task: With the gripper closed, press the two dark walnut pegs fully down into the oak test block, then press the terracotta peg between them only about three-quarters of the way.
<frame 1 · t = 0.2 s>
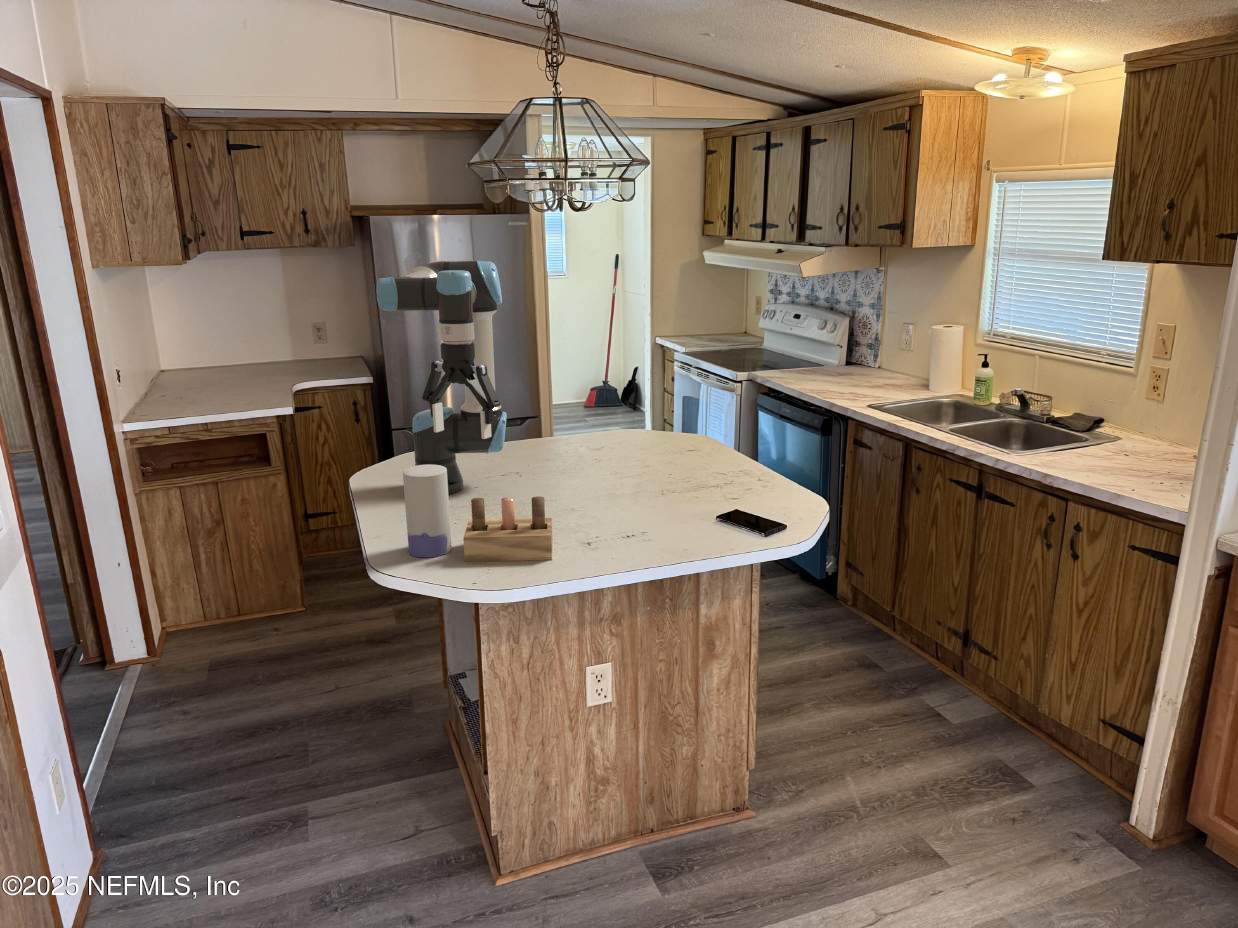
hand: (462, 434, 197), 28 cm above the countertop, fingers open, 13 cm apart
walnut peg 2: (538, 514, 203), point 9 cm above the countertop, slide at 0.0 cm
container: (430, 550, 205), on the countertop
terracotta peg: (508, 515, 202), point 9 cm above the countertop, slide at 0.0 cm
oak block: (509, 550, 205), on the countertop
walnut peg 1: (478, 515, 202), point 9 cm above the countertop, slide at 0.0 cm
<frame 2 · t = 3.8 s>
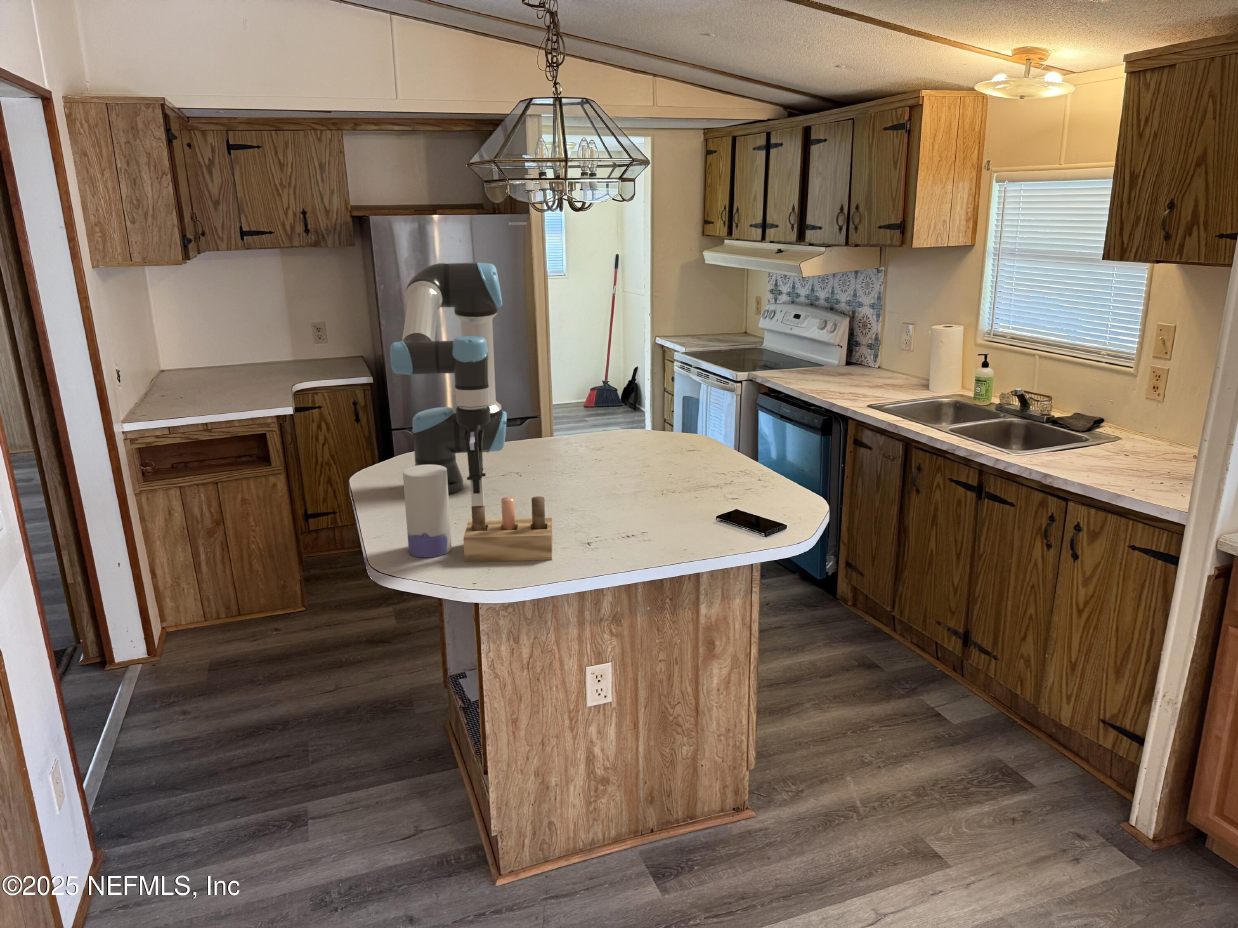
hand: (477, 505, 201), 12 cm above the countertop, fingers closed
walnut peg 1: (478, 522, 202), point 7 cm above the countertop, slide at 1.5 cm, touching gripper
everything else where it was.
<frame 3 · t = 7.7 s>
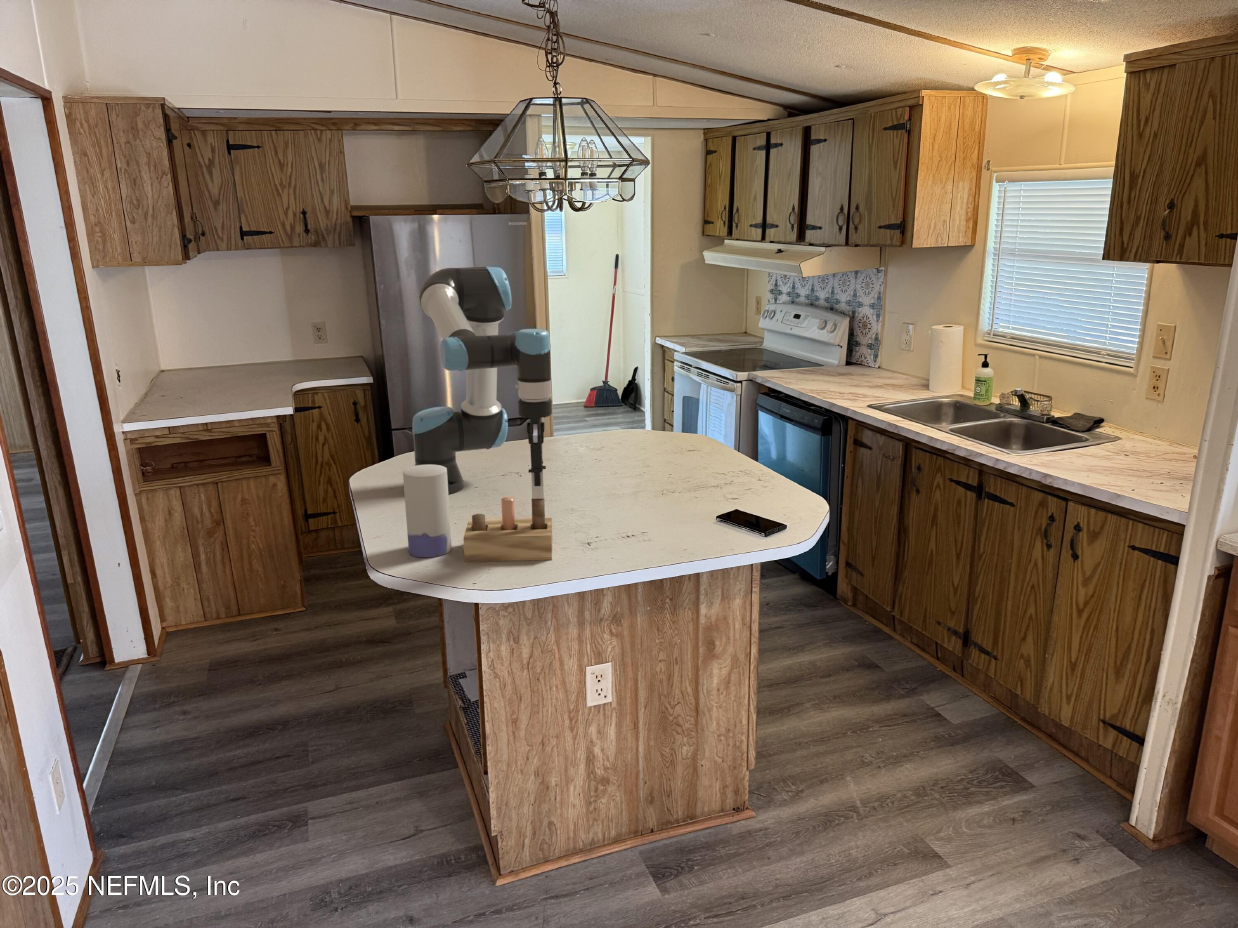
hand: (538, 497, 201), 13 cm above the countertop, fingers closed
walnut peg 2: (538, 514, 203), point 9 cm above the countertop, slide at 0.0 cm, touching gripper
walnut peg 1: (479, 531, 203), point 5 cm above the countertop, slide at 4.0 cm
everything else where it was.
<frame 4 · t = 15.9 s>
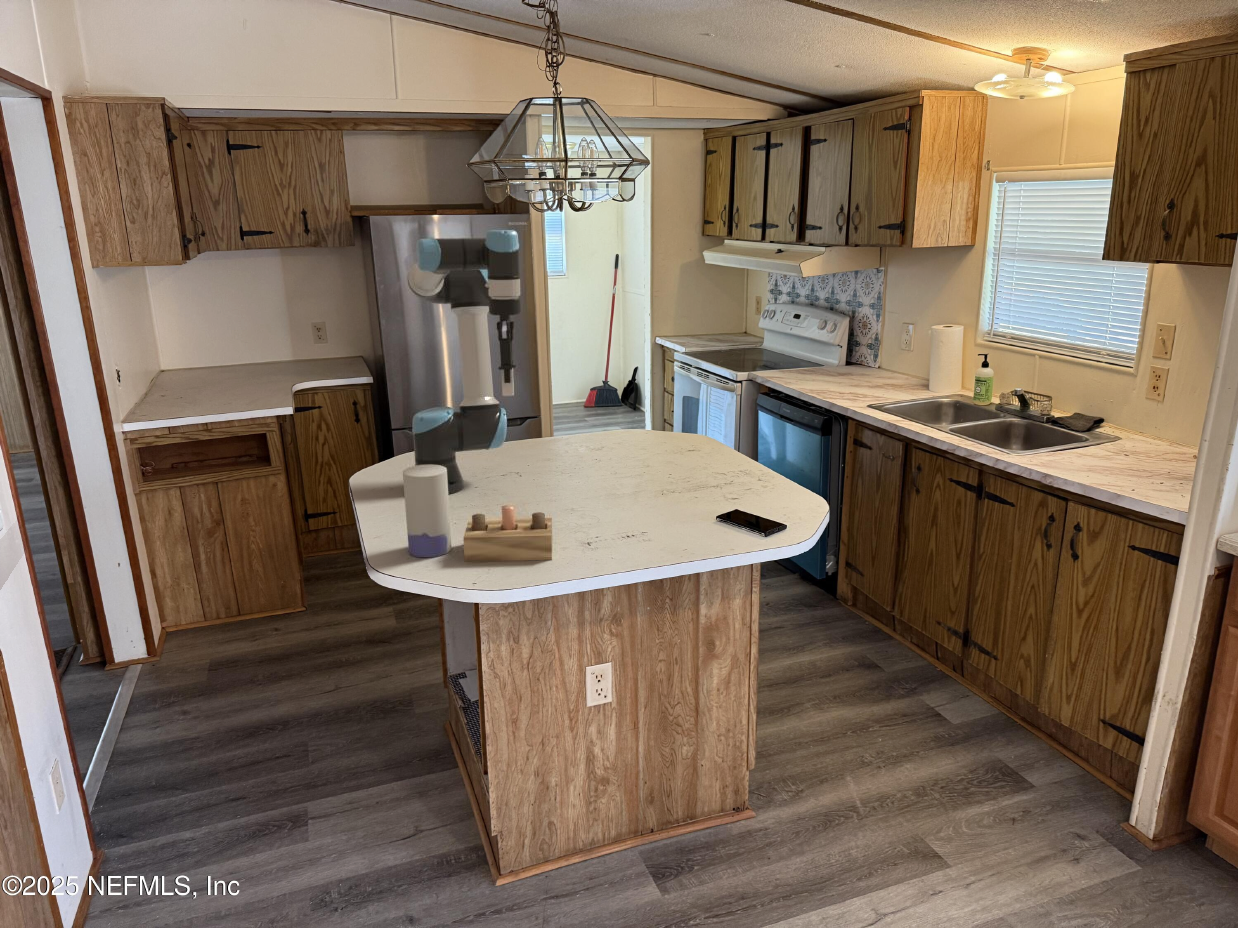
hand: (508, 395, 210), 34 cm above the countertop, fingers closed
walnut peg 2: (538, 530, 204), point 5 cm above the countertop, slide at 4.0 cm
terracotta peg: (508, 523, 203), point 7 cm above the countertop, slide at 2.0 cm
everything else where it was.
at the end: walnut peg 1 slide at 4.0 cm; walnut peg 2 slide at 4.0 cm; terracotta peg slide at 2.0 cm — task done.
